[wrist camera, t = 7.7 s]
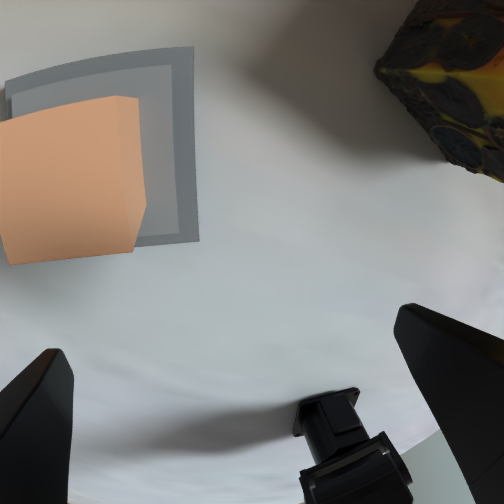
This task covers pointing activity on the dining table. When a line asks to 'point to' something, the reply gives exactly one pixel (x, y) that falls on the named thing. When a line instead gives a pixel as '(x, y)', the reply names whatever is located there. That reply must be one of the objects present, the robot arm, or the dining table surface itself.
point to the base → (150, 119)
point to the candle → (453, 78)
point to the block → (71, 181)
